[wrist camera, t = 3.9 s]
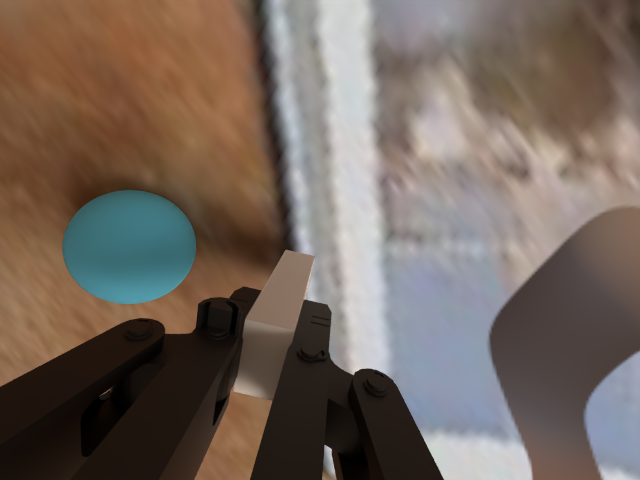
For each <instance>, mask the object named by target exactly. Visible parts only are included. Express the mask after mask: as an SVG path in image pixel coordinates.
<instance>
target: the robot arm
mask: <svg viewBox="0 0 640 480" xmlns="http://www.w3.org/2000/svg"><path fill="white" fill-rule="evenodd" d="M314 258H315V256H311V255H307V254H302V253H298V252H294V251H289V250H285V252H284V254H283V255H282V257H281V259H280V260H279V262H278V264H277V266H276V267H275V269H274V271H273V272H272V274H271V276H270V278H269V279H268V281H267V283H266V284H265V286H264V288H263V290H262V291H261V290H257V289H253V288H248V287H242V288H240V289H238V290H236V291H234V293H233V294H232V295H231V296H230V298H222V297H217V298H209V299H206V300H203V301H202V302H200V303H199V304H198V313H197V322H196V328H195V329H194V330H193V332H192V333H189V334H165V328H164V326H163V324H162V323H160V322H159V321H157V320H153V319H146V318H139V319H133V320H129V321H126V322H123V323H121V324H119V325H117V326H115V327H113V328H111V329H109V330H107V331H106V332H104V333H102V334H100V335H98V336H96V337H94V338H92V339H90V340H88V341H87V342H85V343H83V344H81V345H79V346H77V347H75V348H73V349H71V350H69V351H68V352H66V353H64V354H62V355H60V356H58V357H56V358H54V359H52V360H50V361H49V362H47V363H45V364H43V365H41V366H39V367H37V368H35V369H33V370H31V371H30V372H28V373H26V374H24V375H22V376H20V377H18V378H16V379H14V380H12V381H10V382H9V383H7V384H5V385H3V386H1V387H0V480H194V479H195V476H196V474H197V472H198V470H199V468H200V465H201V463H202V461H203V459H204V457H205V454H206V452H207V450H208V448H209V446H210V443H211V441H212V439H213V437H214V434H215V432H216V430H217V428H218V426H219V423H220V421H221V419H222V417H223V415H224V412H225V410H226V408H227V406H228V402H229V396H230V391H231V389H232V387H233V384H234V382H235V386H234V392H238V393H243V394H247V395H251V396H255V397H260V398H264V399H268V400H272V401H273V402H272V405H271V409H270V412H269V416H268V419H267V423H266V426H265V429H264V433H263V436H262V440H261V443H260V447H259V450H258V454H257V457H256V461H255V464H254V468H253V471H252V474H251V478H250V480H322V472H323V458H324V444H325V445H326V446H328V447H330V448H331V449H332V458H333V463H334V468H335V473H336V478H337V480H444V479H443V477H442V475H441V473H440V471H439V469H438V467H437V465H436V463H435V461H434V459H433V457H432V455H431V453H430V451H429V449H428V447H427V445H426V443H425V441H424V439H423V437H422V435H421V433H420V431H419V429H418V427H417V425H416V423H415V421H414V419H413V417H412V415H411V413H410V411H409V409H408V407H407V405H406V403H405V401H404V399H403V397H402V395H401V393H400V391H399V389H398V387H397V386H396V384H395V383H394V382H393V380H392V379H391V378H389V377H388V376H387V375H386V374H384V373H382V372H379V371H377V370H373V369H360V370H359V371H357V372H355V374H354V375H352V374H350V373H347V372H345V371H344V370H342V369H340V368H339V367H338V366H337V365H335V364H334V362H333V361H332V360H331V358H330V353H329V339H330V326H331V313H332V312H331V310H330V309H329V307H328V305H326V304H322V303H317V302H313V301H309V300H305V298H306V294H307V289H308V285H309V280H310V276H311V271H312V267H313V262H314ZM109 389H110V390H109ZM107 390H109V391H108V392H107V393H105V394H103V393H104V392H106V391H107ZM102 394H103V395H102ZM100 395H101V396H100Z"/></svg>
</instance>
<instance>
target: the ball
mask: <svg viewBox="0 0 640 480" xmlns="http://www.w3.org/2000/svg"><path fill="white" fill-rule="evenodd" d="M195 255H196V238H195V233H194V230H193V227H192V225H191V223H190V221H189V220H188V218H187V217H186V215H185V214H184V213H183V212H182V211H181V210H180V209H179V208H178V207H177V206H176V205H174V204H173V203H172V202H170V201H169V200H167V199H165V198H163V197H161V196H159V195H156V194H153V193H150V192H146V191H139V190H122V191H115V192H111V193H107V194H104V195H101V196H99V197H97V198H95V199H93V200H91V201H90V202H88V203H87V204H85V205H84V206H83V207H82V208H81V209H80V210H79V211H77V213H76V214H75V215H74V216H73V218H72V219H71V220H70V222H69V224H68V226H67V228H66V231H65V234H64V238H63V257H64V261H65V264H66V267H67V269H68V271H69V273H70V274H71V276H72V277H73V279H74V280H75V281H76V282H77V283H78V284H79V285H80V286H81V287H82V288H83V289H84V290H86V291H87V292H89V293H90V294H92V295H94V296H96V297H98V298H101V299H103V300H106V301H109V302H114V303H121V304H136V303H143V302H148V301H152V300H154V299H157V298H159V297H162V296H164V295H165V294H167V293H169V292H170V291H172V290H173V289H174V288H176V287H177V286H178V285H179V284H180V283H181V282H182V281H183V280H184V279H185V277H186V276H187V274H188V273H189V271H190V269H191V267H192V265H193V262H194V259H195Z"/></svg>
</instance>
